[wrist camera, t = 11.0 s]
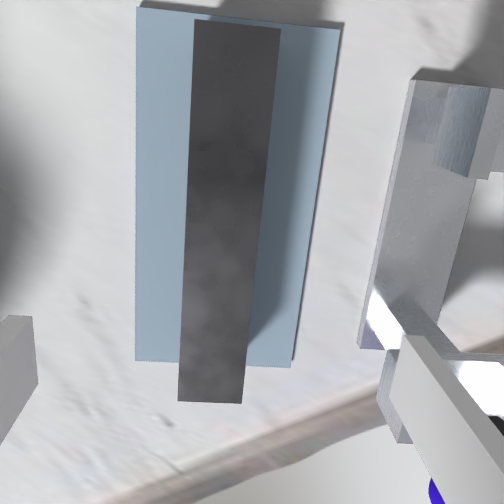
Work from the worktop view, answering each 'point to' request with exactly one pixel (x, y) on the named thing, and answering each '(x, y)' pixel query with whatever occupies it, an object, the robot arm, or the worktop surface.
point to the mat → (176, 170)
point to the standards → (432, 233)
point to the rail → (224, 203)
